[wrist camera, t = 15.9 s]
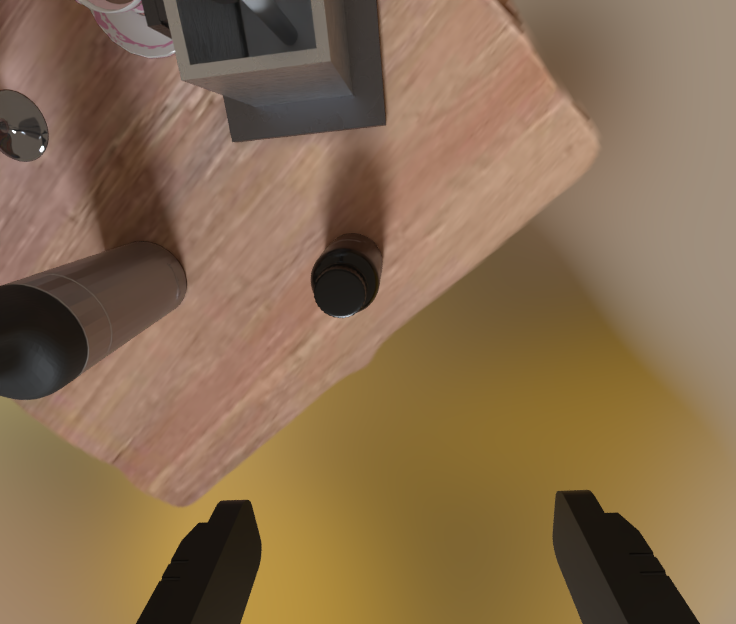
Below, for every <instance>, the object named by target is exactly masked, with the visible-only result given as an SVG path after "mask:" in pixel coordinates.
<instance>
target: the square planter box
mask: <svg viewBox="0 0 736 624" xmlns="http://www.w3.org/2000/svg"><path fill="white" fill-rule="evenodd" d="M141 1H142V5H143V10H144V14H145V18H146V22H147V26H148V27H150V28H152V29H153V30H155V31H157V32H159V33H161V34H163V35H165V36H167V37H169V38H170V39H172V41H173V45H174V50H175V54H176V58H177V63H178V67H179V71H180V76H181V80H182V81H185V82H187V83H190V84H193V85H196V86H199V87H201V88H204V89H207V90H210V91H212V92H215V93H218V94H221V95H223V98H224V103H225V108H226V113H227V118H228V123H229V128H230V133H231V138H232V142H244V141H253V140H261V139H270V138H279V137H288V136H297V135H306V134H314V133H323V132H332V131H341V130H350V129H358V128H367V127H376V126H385V125H386V120H385V107H384V94H383V81H382V68H381V55H380V42H379V29H378V16H377V3H376V0H311V7H312V15H313V23H314V31H315V39H316V47H317V48H315V49H307V50H300V51H292V52H285V53H277V54H270V55H262V56H255V57H249V52H248V47H247V41H246V35H245V29H244V24H243V18H242V12H241V6H240V1H238V2H235V3H231V4H221V3H217V2H214V1H212V0H141Z"/></svg>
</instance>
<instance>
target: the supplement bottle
mask: <svg viewBox="0 0 736 624" xmlns="http://www.w3.org/2000/svg"><path fill="white" fill-rule="evenodd" d="M382 265H383V262H382V255H381V252H380V250H379V248H378V247H377V245H376V244H375V243H374V242H373V241H372V240H371V239H369V238H368V237H366V236H364V235H361V234H356V233H349V234H344V235H342V236H339V237H338V238H336V239H335V240H333V241H332V242H331V243H330V244H329V246H328V247H327V248H326V249H325V251H324V252H323V253H322V254H321V256H320V257H319V258H318V260H317V261H316V263H315V264H314V266H313V269H312V272H311V287H312V290H313V293H314V298H315V302H316V303H317V305H318V307H320V309H321V310H322V311H324V313H326V314H328V315H329V316H333V317H337V318H341V317H342V318H345V317H350V316H351V315H354V314H355V313H357V312H360V311H362V310H364V309H365V308H367V307H368V306H369V305H370V304H371V303H372V302H373V300H374V299H375V297H376V295H377V293H378V290H379V285H380V279H381V273H382Z"/></svg>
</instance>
